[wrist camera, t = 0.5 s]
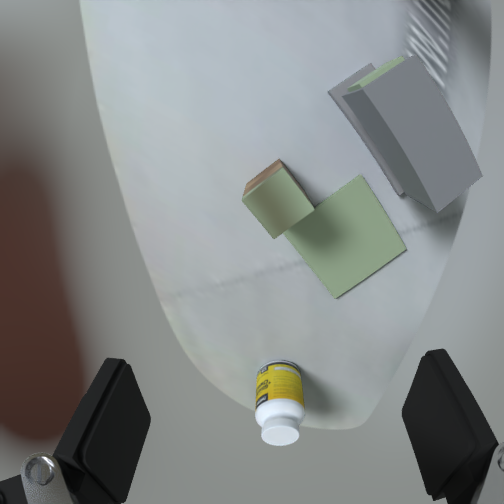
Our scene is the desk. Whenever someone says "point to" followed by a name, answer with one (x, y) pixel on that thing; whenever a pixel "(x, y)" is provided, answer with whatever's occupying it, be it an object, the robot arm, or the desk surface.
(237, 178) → the desk surface
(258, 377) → the pill bottle
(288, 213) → the brown and green block
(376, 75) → the mounted unit
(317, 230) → the mat
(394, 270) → the desk surface
